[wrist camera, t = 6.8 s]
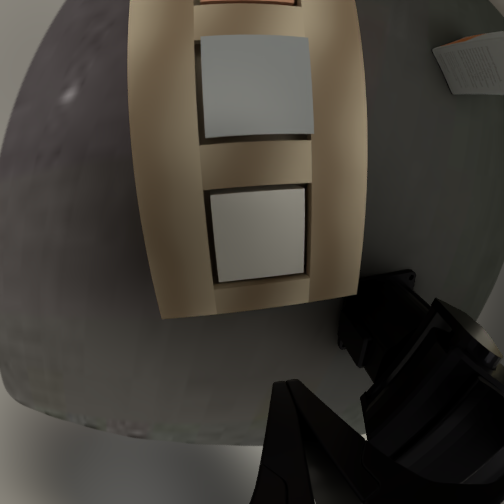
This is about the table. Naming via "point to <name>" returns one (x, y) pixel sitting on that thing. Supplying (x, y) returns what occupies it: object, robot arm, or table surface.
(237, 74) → the grey key
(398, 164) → the table surface
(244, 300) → the wooden slotted tray
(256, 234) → the offwhite key
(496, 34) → the skincare box
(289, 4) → the terracotta key
